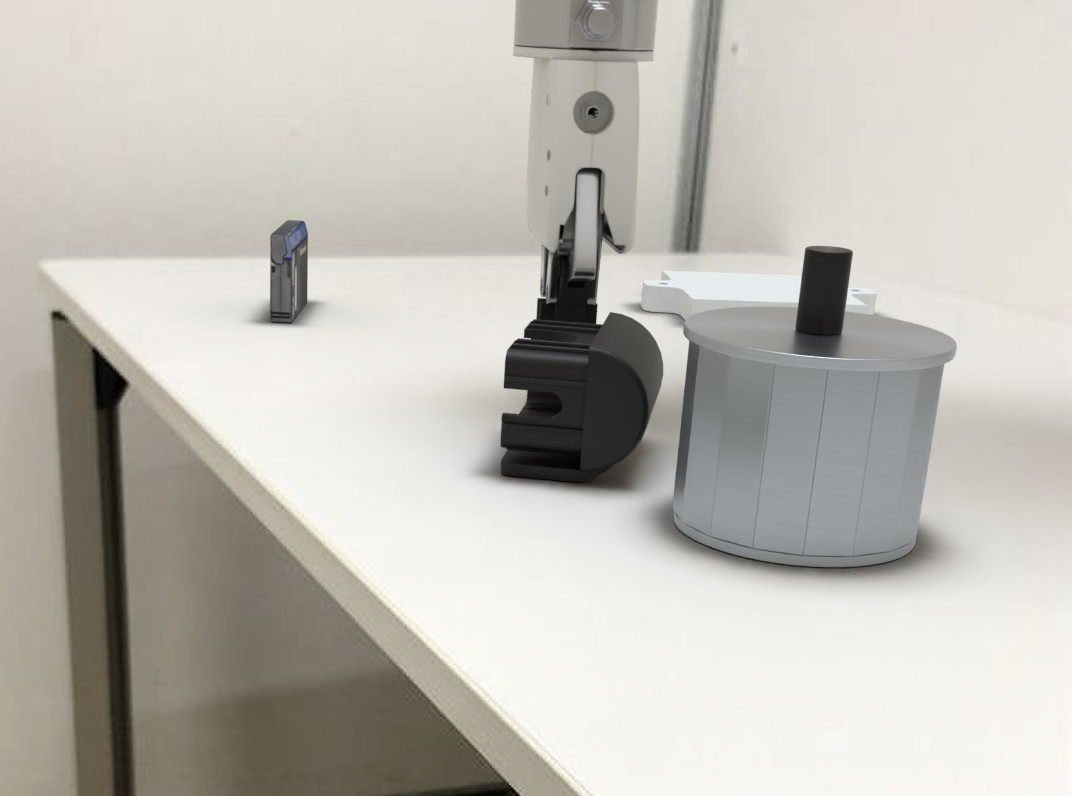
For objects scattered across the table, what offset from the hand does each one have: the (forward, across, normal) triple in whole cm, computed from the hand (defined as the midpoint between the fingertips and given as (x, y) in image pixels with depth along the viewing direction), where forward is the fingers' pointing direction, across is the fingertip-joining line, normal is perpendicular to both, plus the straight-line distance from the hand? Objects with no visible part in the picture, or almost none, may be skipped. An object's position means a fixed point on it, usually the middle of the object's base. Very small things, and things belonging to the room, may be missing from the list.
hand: (562, 370), depth 93 cm
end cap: (+2, -11, +1) cm, 12 cm away
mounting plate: (+2, +33, -20) cm, 38 cm away
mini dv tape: (+2, +27, +16) cm, 31 cm away
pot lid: (-6, -22, -8) cm, 24 cm away
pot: (+2, -22, -8) cm, 24 cm away
